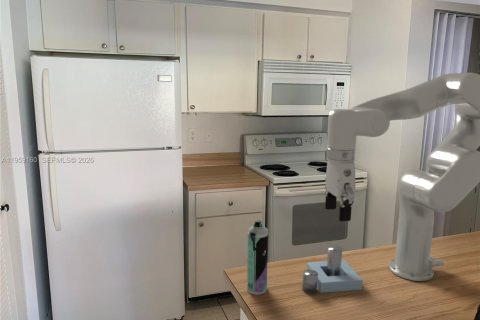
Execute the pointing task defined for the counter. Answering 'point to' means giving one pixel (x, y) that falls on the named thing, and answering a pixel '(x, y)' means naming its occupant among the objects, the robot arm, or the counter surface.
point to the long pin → (334, 260)
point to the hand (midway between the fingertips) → (337, 214)
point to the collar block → (335, 278)
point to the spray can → (257, 259)
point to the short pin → (310, 281)
